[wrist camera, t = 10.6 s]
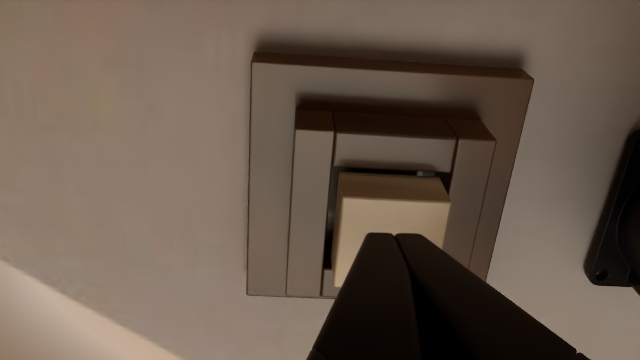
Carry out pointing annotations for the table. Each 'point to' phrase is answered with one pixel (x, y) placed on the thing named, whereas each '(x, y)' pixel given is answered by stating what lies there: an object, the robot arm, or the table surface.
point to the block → (372, 154)
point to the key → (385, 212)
